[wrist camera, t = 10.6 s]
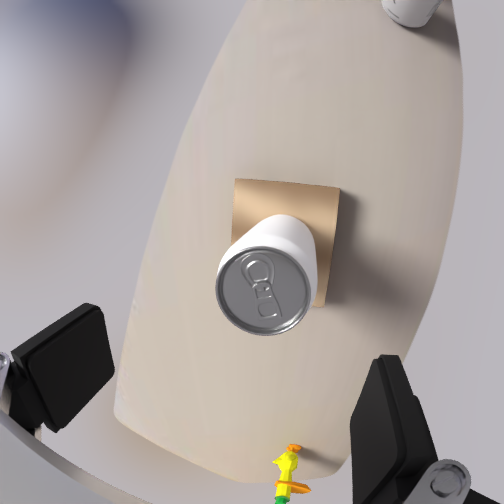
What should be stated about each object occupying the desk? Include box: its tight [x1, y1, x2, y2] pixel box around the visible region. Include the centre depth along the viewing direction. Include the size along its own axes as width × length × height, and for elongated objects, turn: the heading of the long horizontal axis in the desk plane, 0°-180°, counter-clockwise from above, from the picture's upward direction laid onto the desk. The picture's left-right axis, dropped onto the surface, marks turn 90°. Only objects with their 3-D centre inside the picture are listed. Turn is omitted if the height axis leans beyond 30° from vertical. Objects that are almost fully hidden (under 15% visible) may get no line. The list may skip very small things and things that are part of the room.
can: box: [216, 214, 318, 336], centre depth 22 cm, size 6×6×12 cm
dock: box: [231, 179, 340, 307], centre depth 29 cm, size 12×10×3 cm
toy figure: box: [272, 444, 311, 504], centre depth 33 cm, size 7×4×12 cm, turn 72°
